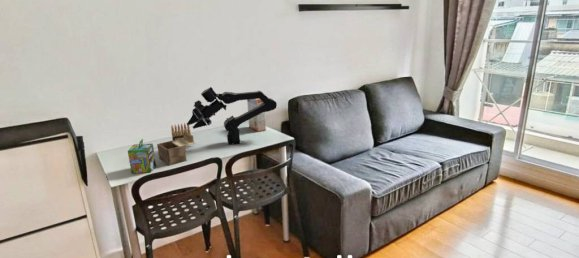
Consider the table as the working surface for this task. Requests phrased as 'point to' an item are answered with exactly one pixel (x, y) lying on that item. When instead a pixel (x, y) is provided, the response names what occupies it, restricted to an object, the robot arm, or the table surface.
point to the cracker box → (259, 120)
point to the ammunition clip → (180, 132)
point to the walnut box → (171, 153)
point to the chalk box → (141, 158)
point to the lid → (184, 140)
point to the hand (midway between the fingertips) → (190, 126)
